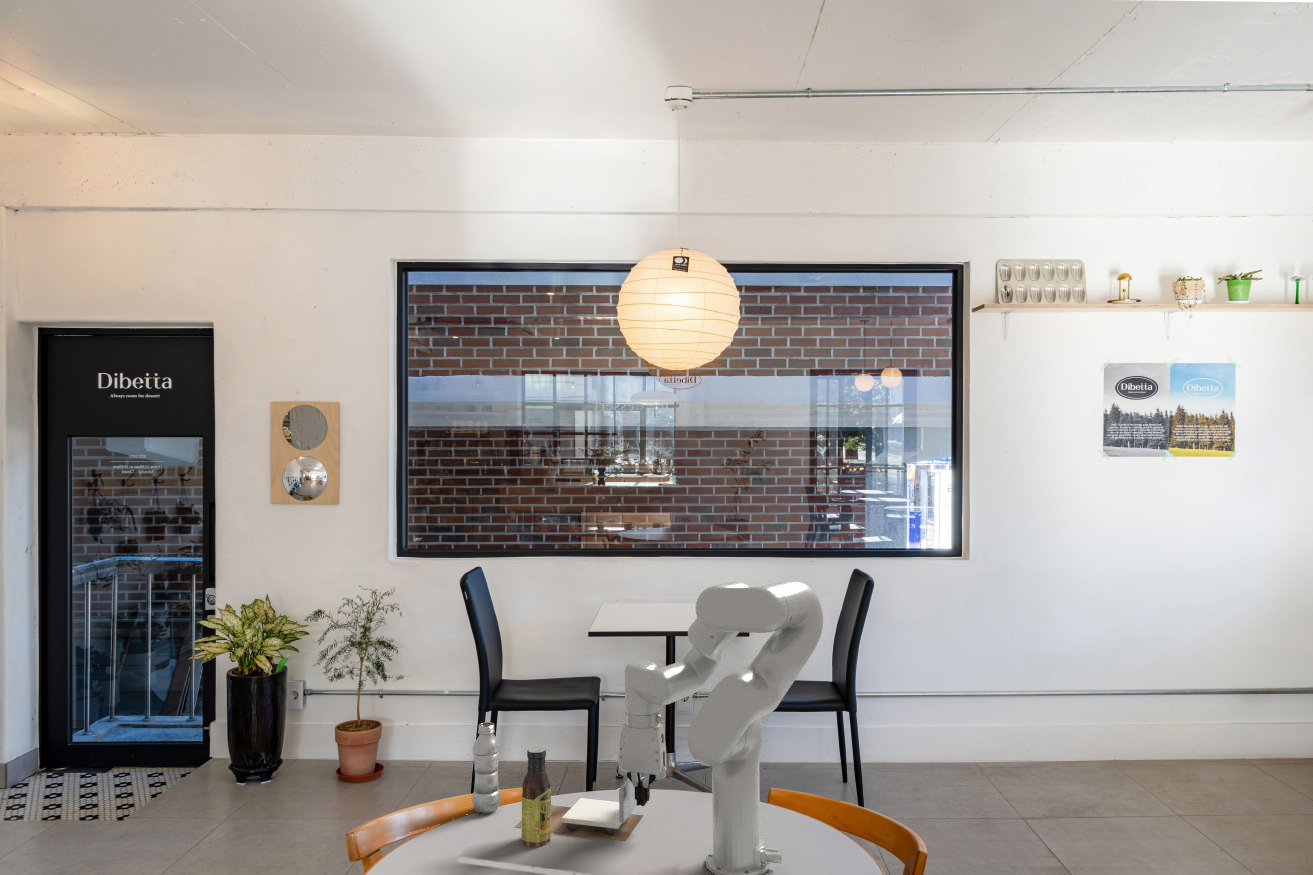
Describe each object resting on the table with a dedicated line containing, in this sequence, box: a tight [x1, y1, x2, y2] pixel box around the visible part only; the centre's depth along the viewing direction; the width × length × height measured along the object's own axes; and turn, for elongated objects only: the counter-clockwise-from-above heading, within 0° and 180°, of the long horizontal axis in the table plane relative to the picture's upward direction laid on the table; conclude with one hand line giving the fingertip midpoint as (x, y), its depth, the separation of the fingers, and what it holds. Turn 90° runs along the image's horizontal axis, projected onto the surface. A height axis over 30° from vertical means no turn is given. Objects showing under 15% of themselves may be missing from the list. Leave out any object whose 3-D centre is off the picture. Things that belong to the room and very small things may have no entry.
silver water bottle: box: [472, 721, 501, 814], centre depth 186 cm, size 6×7×20 cm
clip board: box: [514, 804, 645, 842], centre depth 177 cm, size 26×13×1 cm, turn 74°
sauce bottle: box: [521, 746, 552, 848], centre depth 169 cm, size 7×6×20 cm
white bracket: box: [562, 777, 637, 835], centre depth 176 cm, size 14×11×10 cm
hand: (642, 803), depth 173 cm, fingers closed
